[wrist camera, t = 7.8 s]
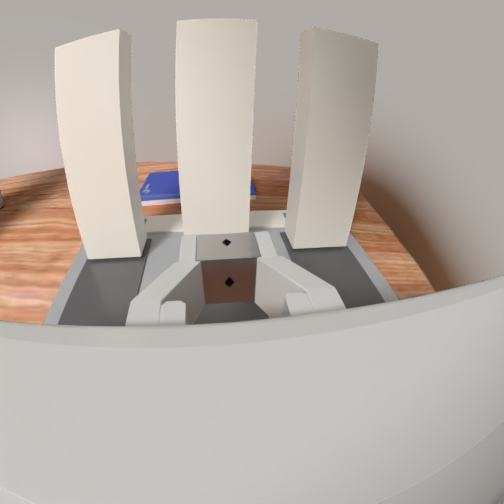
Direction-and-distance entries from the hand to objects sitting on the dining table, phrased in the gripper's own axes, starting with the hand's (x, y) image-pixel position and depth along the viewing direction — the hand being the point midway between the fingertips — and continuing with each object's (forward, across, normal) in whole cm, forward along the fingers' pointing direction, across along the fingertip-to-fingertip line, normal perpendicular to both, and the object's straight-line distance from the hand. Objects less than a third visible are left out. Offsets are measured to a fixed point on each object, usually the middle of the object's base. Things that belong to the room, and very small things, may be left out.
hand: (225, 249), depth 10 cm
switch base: (+6, 0, +6) cm, 9 cm away
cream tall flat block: (+8, 0, +5) cm, 9 cm away
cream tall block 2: (+8, -7, +5) cm, 11 cm away
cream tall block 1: (+8, +7, +5) cm, 12 cm away
